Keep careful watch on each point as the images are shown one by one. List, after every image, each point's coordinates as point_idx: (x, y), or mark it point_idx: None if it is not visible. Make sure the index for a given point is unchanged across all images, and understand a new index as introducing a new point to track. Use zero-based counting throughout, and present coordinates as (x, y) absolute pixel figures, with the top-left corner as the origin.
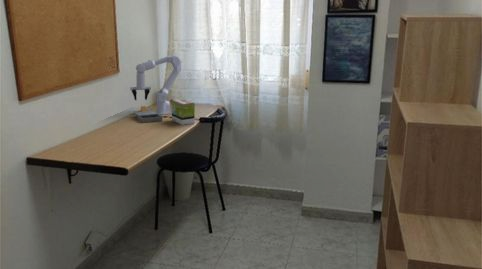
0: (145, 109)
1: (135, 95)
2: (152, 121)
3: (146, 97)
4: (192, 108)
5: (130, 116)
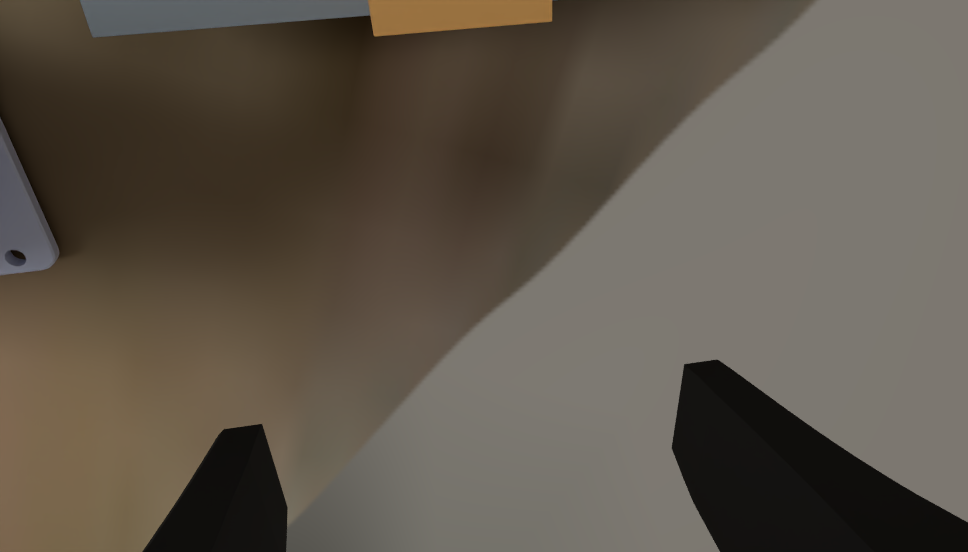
0: None
1: (891, 505)
2: None
3: (212, 504)
4: None
5: (726, 11)
